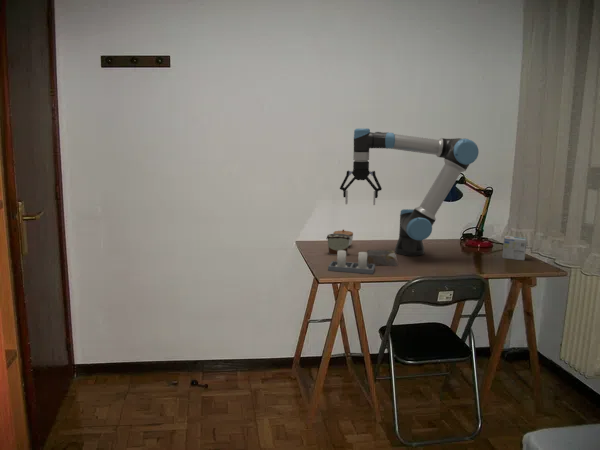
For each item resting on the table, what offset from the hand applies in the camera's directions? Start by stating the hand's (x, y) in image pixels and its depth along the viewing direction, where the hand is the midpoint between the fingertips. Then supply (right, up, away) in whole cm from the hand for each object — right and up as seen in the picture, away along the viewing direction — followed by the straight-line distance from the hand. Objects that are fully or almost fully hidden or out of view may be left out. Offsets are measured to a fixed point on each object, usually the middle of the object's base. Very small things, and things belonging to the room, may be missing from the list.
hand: (360, 204), depth 249 cm
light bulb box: (+80, -27, +11) cm, 85 cm away
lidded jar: (-6, -22, +30) cm, 38 cm away
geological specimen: (+10, -29, -2) cm, 31 cm away
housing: (-6, -31, -14) cm, 34 cm away
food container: (-10, -25, +14) cm, 31 cm away
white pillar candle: (-1, -31, -15) cm, 34 cm away
